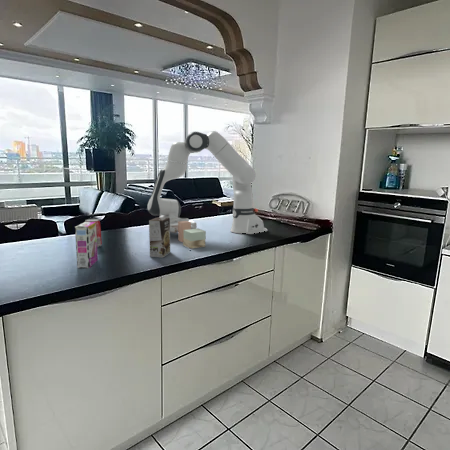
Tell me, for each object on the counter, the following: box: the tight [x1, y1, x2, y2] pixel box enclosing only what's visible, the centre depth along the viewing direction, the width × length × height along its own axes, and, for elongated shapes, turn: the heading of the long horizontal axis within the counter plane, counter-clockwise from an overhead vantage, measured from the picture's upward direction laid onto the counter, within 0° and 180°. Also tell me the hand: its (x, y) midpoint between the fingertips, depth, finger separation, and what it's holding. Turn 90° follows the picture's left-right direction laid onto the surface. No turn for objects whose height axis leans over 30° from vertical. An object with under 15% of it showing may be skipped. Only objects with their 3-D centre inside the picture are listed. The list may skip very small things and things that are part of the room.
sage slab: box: [184, 227, 207, 241], centre depth 163 cm, size 8×8×4 cm
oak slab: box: [182, 238, 206, 249], centre depth 164 cm, size 8×8×4 cm
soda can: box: [84, 218, 103, 248], centre depth 160 cm, size 7×7×13 cm
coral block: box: [177, 221, 191, 243], centre depth 174 cm, size 5×5×10 cm
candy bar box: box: [74, 221, 99, 269], centre depth 132 cm, size 11×5×16 cm, turn 5°
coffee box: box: [148, 217, 171, 259], centre depth 147 cm, size 9×6×16 cm
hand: (183, 229), depth 174 cm, fingers open, 8 cm apart
